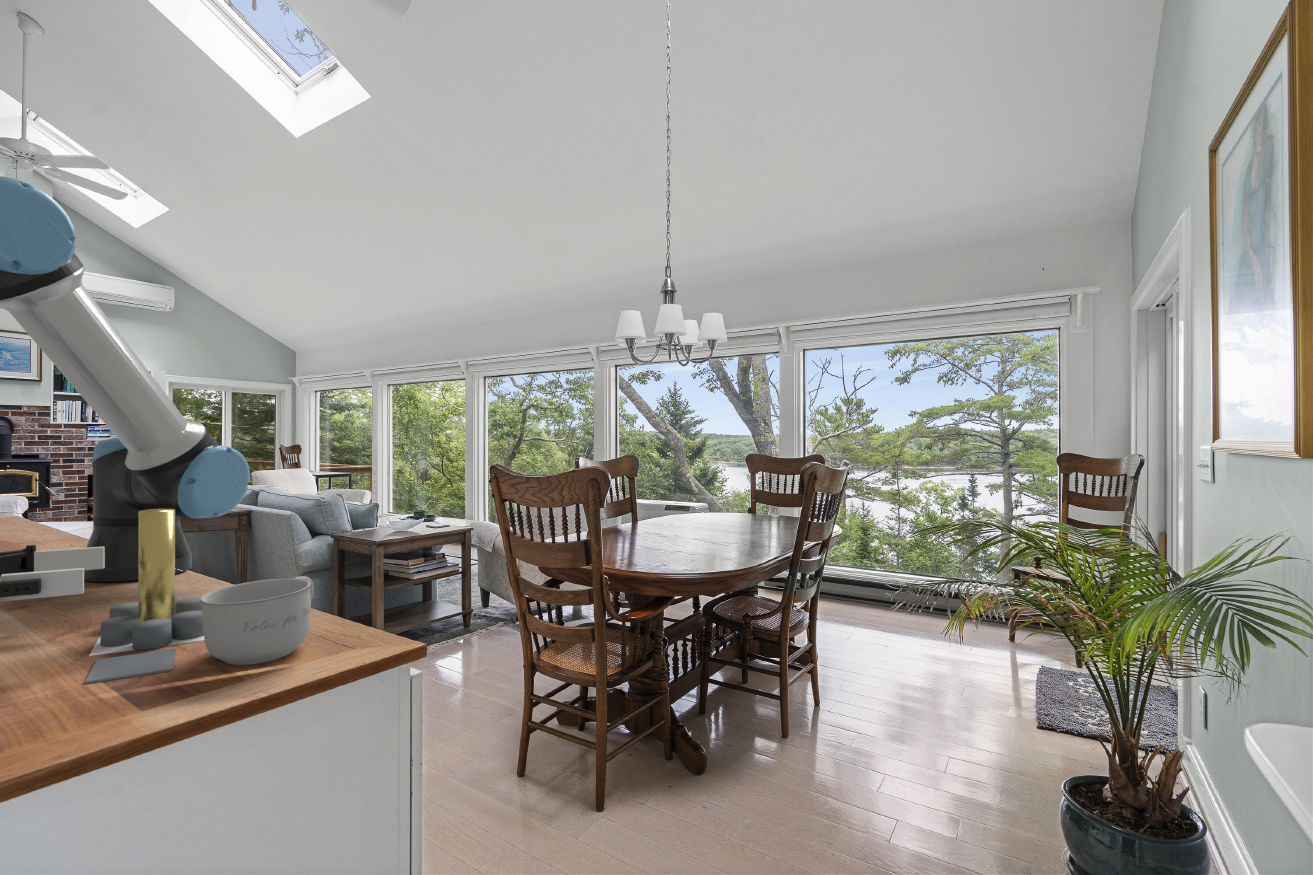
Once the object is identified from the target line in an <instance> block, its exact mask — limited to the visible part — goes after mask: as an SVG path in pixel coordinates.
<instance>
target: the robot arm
mask: <svg viewBox="0 0 1313 875" xmlns="http://www.w3.org/2000/svg"><path fill="white" fill-rule="evenodd" d="M76 239H77V234H76V230H75V226H74V224H73V221H72V220H71V218H70V217H69V215H68V213H67V212H66V211H65V209H64V208H63V207H62V206H61V205H60V204H59V203H58V202H57V201H56V200H55V199H54V198H52V197H51V196H50V195H49V194H48V193H46V192H44V191H43V190H41V189H39V188H37V187H36V186H34V185H32V184H30V183H27V182H24V181H21V180H20V179H17V178H16V179H15V178H13V177H8V176H2V175H1V176H0V309H2V310H6V312H8V313H10V314H11V316H12V317H13V318H14V320H16V322H17V323H18V324H19V325H20V326H21V328H22V329H23V330H24V331H25V333H26V334H28V336H29V337H30V339H32V341H33V342H34V343H35V344H36V345H37V346H38V347H39V349H40V350H41V351H42V352H43V354H45V356H47V358H48V359H49V361H51V362H52V364H53V365H54V366H55V367H56V369H58V371H59V372H60V373H61V374H62V376H64V378H65V379H66V380H67V381H68V382H69V383H70V384H71V386H72V387H73V388H74V390H76V392H77V393H78V394H79V395H80V396H81V397H82V398H83V400H85V402H86V403H87V405H89V407H90V408H91V410H93V411H94V412H95V413H96V415H97V416H98V417H99V418H100V419H101V421H102V422H103V423H104V424H105V425H106V426H107V428H109V430H110V431H111V433H113V435H114V436H115V437H114V438H107V439H106V438H105V439H102V440H100V441H99V442H96V444H95V445H94V448H93V452H92V453H93V454H92V460H91V467H92V518H93V519H92V521H93V522H92V532H91V535H90V537H89V540H88V542H87V544H86V547H77V548H76V547H75V548H61V549H60V548H59V549H49V550H48V549H47V550H37V545H36V544H28V545H25V548H23V549H15V550H7V551H0V602H8V601H9V602H11V601H19V600H22V601H23V600H30V599H31V600H33V599H39V598H41V599H42V598H51V597H53V598H54V597H62V596H73V595H83V594H84V593H85V582H95V583H115V582H120V583H121V582H131V581H132V582H133V581H138V579H139V511H141V510H148V509H175V568H176V569H175V575H176V574H179V573H183V572H186V571H188V570H190V569H191V568H192V566H193V556H192V552H191V549H190V546H189V544H188V542H187V539H186V537H185V534H184V532H183V530H182V527H181V520H180V519H181V517H184V518H191V519H197V520H198V519H207V518H209V519H213V518H217V517H218V518H219V517H222V516H224V515H226V514H228V513H230V512H232V511H233V510H234V509H235V508H236V507H238V505H239V504H241V502H242V500H243V498H245V496H246V494H247V493H248V489H249V487H248V484H249V482H250V481H251V471H250V466H249V463H248V461H247V459H246V457H245V456H244V455H243V454H242V453H241V452H240V451H238V450H236V449H235V448H233V447H231V446H228V445H219V444H218V442H217V441H216V440H215V439H214V437H213V436H212V434H211V432H209V431H208V429H207V428H206V427H205V426H204V424H202V423H201V422H196V421H191V420H187V419H186V418H185V416H183V414H182V413H181V412H180V410H179V409H178V408H177V406H176V405H175V404H174V403H173V401H172V400H171V398H169V396H168V395H167V394H166V392H165V391H164V390H163V388H162V387H161V386H160V384H159V383H158V382H157V380H156V379H155V378H154V377H153V375H152V374H151V372H150V371H149V370H148V369H147V368H146V366H145V365H144V363H143V362H142V361H141V359H140V357H138V355H137V354H136V353H135V352H134V350H133V349H132V347H131V346H130V345H129V344H128V342H127V340H125V339H124V337H123V335H122V334H121V333H120V332H119V331H118V329H117V328H116V326H114V324H113V322H112V321H111V320H110V319H109V317H107V315H106V314H105V312H104V311H103V310H102V308H101V307H100V306H99V304H98V302H96V301H95V299H94V297H92V295H91V294H90V293H89V292H88V290H87V289H86V287H85V286H84V285H83V283H82V279H83V276H84V272H85V269H86V267H85V265H84V264H83V262H82V261H81V259H80V258H79V257H78V255H77V254H76V253H75V252H76V251H75V250H76V247H77V246H76V244H75V243H76V242H75V241H76ZM177 569H180V570H183V571H180V570H177Z"/></svg>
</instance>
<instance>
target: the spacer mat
mask: <svg viewBox="0 0 1313 875" xmlns="http://www.w3.org/2000/svg"><path fill="white" fill-rule="evenodd" d="M201 597H202V596H195V597H188V598H183V599H179V594H178V593H175V615H173V616H172V617H171V620H169V619H153V620H147V621H142V622H140V617H138V601H133V602H131V601H130V602H124V603H119V604H115V605H112V606H110V607H109V619H108V618H107V619H105V620H103V621H101V622H100V624H99V625H100V628H99V629H100V635H99V637H98V639H97V641H96V642H95V644H94V646H93V647H92V649H91V651H90V653H89V654H88V657H93V656H100V655H108V654H115V653H121V652H128V651H129V652H130V651H148V650H154V649H160V648H163V647H166V646H167V647H168V646H175V645H181V644H189V643H196V642H203V641H204V642H205V639H204V631H203V619H202V604H201V603H200V598H201Z"/></svg>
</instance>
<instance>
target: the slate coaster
mask: <svg viewBox="0 0 1313 875" xmlns="http://www.w3.org/2000/svg"><path fill="white" fill-rule="evenodd" d="M177 649H178V648H169V649H164V650H156V651H149V652H142V653H134V654H127V655H121V656H112V657H105V658H98V659H96V660H95V662H94V664H93V666H92V668H91V669H90V672H89V673H88V676H87V677H86V679H85V680H84V685H89V684H96V683H102V682H108V681H116V680H123V679H129V678H135V677H141V676H142V677H143V676H149V675H153V674H160V673H166V672H167V673H168V672H172V671H173V668H174V665H175V660H176V654H177Z"/></svg>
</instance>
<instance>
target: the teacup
mask: <svg viewBox="0 0 1313 875" xmlns="http://www.w3.org/2000/svg"><path fill="white" fill-rule="evenodd" d="M314 594H315V586H314V583H313V580H312V579H311V578H310V577H308V576H306V575H305V576H304V575H303V576H302V575H301V576H296V577H294V578H271V579H261V580H254V581H247V582H243V583H237V584H233V585H227V586H223V587H220V588H217V589H214V590H210V591H209V592H206V593H205V594H203V595H201V596H200V597H201V598H200V603H201V604H202V619H203V631H204V639H205V640H204V643H205V644H204V645H205V647H206V650H207V651H208V652H209V654H210V655H211V656H213V657H215V658H216V659H218V660H220V661H223V662H224V663H226V664H228V665H229V664H230V665H233V666H235V665H236V666H246V665H258V664H264V663H269V662H274V661H277V660H279V659H282V658H285V657H287V656H289V655H291V654H292V653H293V652H294V651H295V650H296V649H297V647H298V646H300V645H301V644H302V643H303V642H304V641H305V639H306V638H307V637H308V635H309V633H310V629H311V625H312V624H311V621H312V608H311V606H312V604H311V602H312V600H313V598H314Z"/></svg>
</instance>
